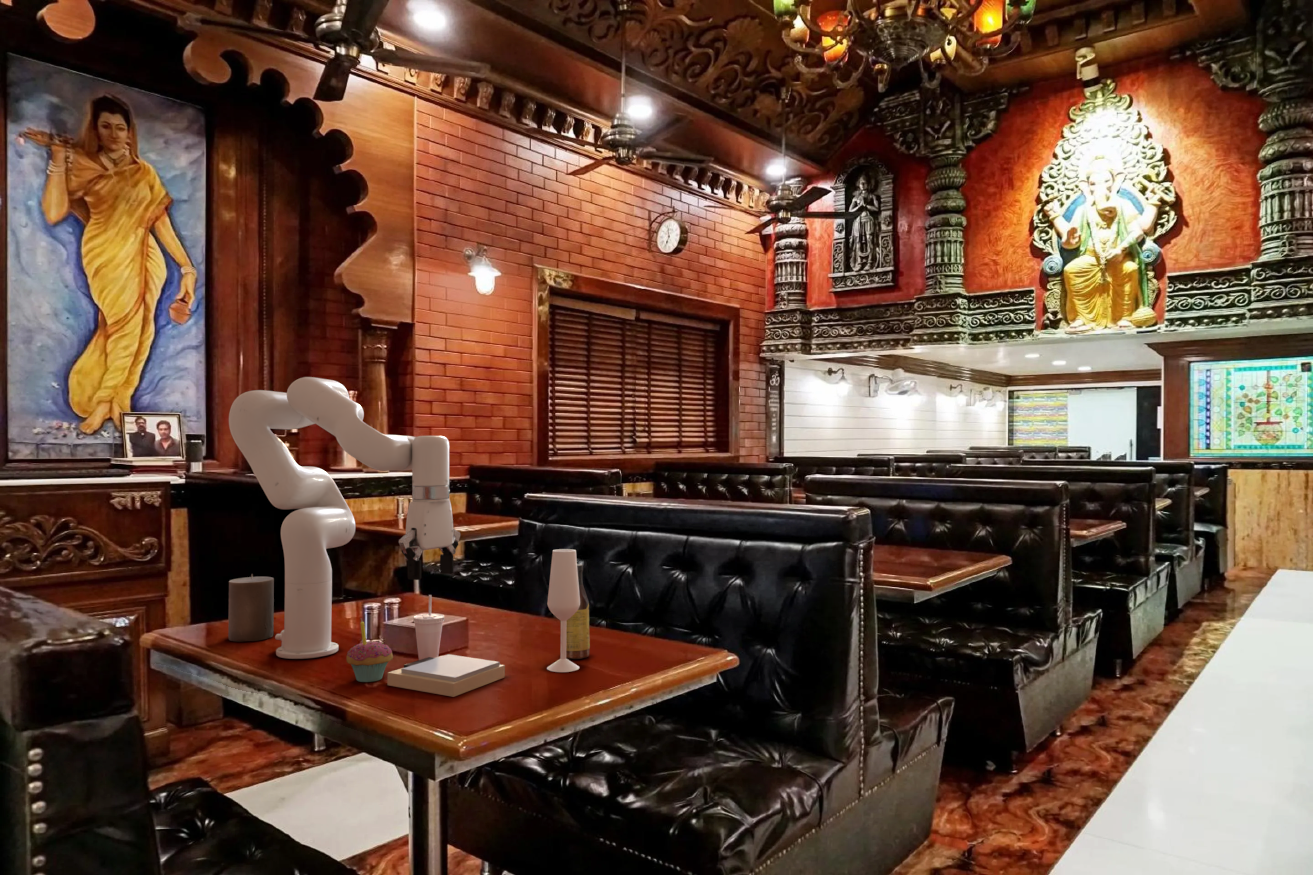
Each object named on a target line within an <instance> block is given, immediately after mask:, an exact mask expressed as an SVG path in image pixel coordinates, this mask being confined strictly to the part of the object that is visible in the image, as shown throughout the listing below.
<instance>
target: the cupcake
mask: <svg viewBox="0 0 1313 875" xmlns="http://www.w3.org/2000/svg"><path fill="white" fill-rule="evenodd" d="M365 627H366V626H365V622H364V621H363V618H361V617H360V631H361V639H362V642H360V643H358V644H355V645H353V646H352V647H351V648H349V650H348V651H347V653H346V663H347V664H348V665H351V668H352V670H353V673H354V676H355V679H356V681H357V682H360V683H373V682H377V681H380V680H382V679H383V676H384V674H385V670H386V668H387V665H388V663H389V662H391V661H393V660H394V659H393V658H394V656H393V650H392V648H391V647H390V646H389V645H388V644H386V643H384V642H381V641H379V640H378V641H377V640H376V641H374V640H372V641H371V640H370V641H367V636H366V628H365Z"/></svg>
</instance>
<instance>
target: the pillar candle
mask: <svg viewBox="0 0 1313 875" xmlns="http://www.w3.org/2000/svg"><path fill="white" fill-rule="evenodd" d="M274 593H275V578H274V577H271V576H254V574H253V573H251V576H249V577H248V576H247V577H238V578H233V579H229V581H228V619H227V620H228V624H227V625H228V626H227V627H228V631H227V633H228V634H227V635H228V636H227V638H228V640H229V641H231V642H237V643H240V642H257V641H263V640H267V639H270V638H273V636H274V634H275V633H274V632H275V631H274V629H275V628H274V625H275V624H274V622H275V620H274V619H275V618H274V616H275V606H274V602H275V599H274V597H275V596H274Z"/></svg>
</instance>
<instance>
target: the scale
mask: <svg viewBox="0 0 1313 875" xmlns="http://www.w3.org/2000/svg"><path fill="white" fill-rule="evenodd" d="M505 677H506V665H505V664H501V663H500V661H495V660H490V659H483V658H476V657H470V656H462V655H456V654H449V653H448V654H445V655H440V656H439V655H438V657H436V658H432V657H428V658H424V659H421V660H419V659H418V660H414V661H412V662H408V663H406V664H403V667H401V668H398V669H395V670H391V671H388V672H387V684H386V686H390V687H396V688H401V689H406V690H412V691H417V692H423V693H428V694H436V695H441V696H446V697H451V698H454V697H457V696H461V695H462V694H465V693H468V692H471V691H473V690H475V689H478V688H480V687H483V686H486V685H488V684H491V683H493V682H497V681H499V680H501V679H504V678H505Z"/></svg>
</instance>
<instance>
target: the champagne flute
mask: <svg viewBox="0 0 1313 875" xmlns="http://www.w3.org/2000/svg"><path fill="white" fill-rule="evenodd" d="M550 563H551V564H550V574H549V585H548V592H547V593H548V594H547V603H546V604H547V607H548V610H549V611H550V613H551V614H553V616H554V617H555V618H556V619H557V620H559V621H560V620H561V624H560V656H559V659H557V660H556V661H555V662H552V663H551V664H550V665H548V666H547V667H546V670H547V671H550V672H555V673H569V672H575V671H578V670H579V669H580V666H579V665H577V664H576V663H575V662H573V661H571V660H570V659H566V623H567V620H568V619H569V618H571V617H572V616H573V615H574V614H575V613H576V611H577V610H578V608H579V606H580V595H579V583H578V571H577V564H578V560H577V550H576V549H573V548H572V549H570V548H559V549H553V550H552V554H551V562H550Z"/></svg>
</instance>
